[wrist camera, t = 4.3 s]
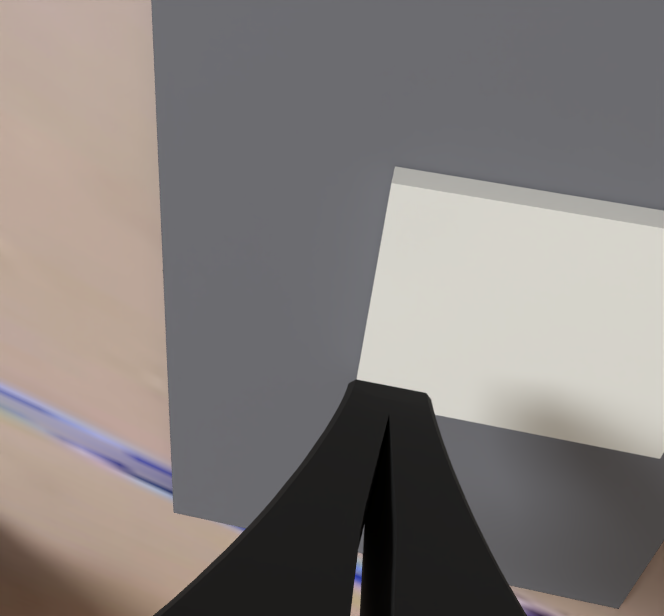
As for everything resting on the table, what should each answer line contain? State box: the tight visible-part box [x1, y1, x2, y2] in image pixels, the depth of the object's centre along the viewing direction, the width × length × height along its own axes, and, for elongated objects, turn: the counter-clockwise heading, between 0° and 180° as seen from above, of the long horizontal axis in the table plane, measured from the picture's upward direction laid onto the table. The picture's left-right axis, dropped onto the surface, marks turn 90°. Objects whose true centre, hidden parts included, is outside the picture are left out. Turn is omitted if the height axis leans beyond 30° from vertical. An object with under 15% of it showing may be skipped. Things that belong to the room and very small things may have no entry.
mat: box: [151, 0, 664, 609], centre depth 15 cm, size 22×16×1 cm
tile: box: [357, 166, 664, 459], centre depth 14 cm, size 6×1×8 cm
